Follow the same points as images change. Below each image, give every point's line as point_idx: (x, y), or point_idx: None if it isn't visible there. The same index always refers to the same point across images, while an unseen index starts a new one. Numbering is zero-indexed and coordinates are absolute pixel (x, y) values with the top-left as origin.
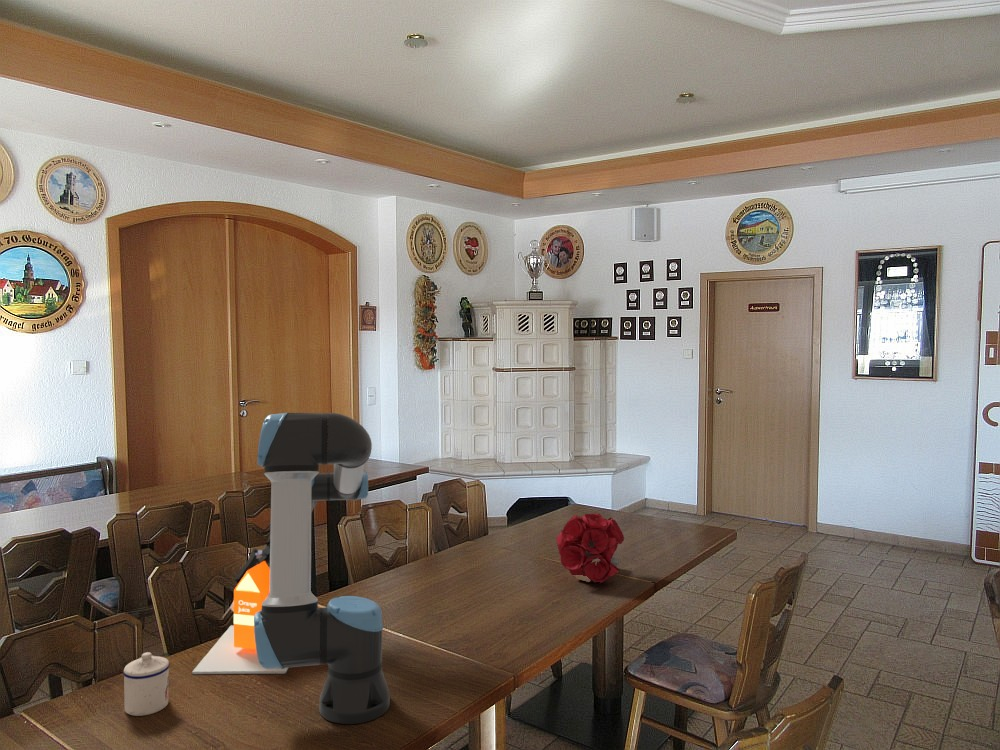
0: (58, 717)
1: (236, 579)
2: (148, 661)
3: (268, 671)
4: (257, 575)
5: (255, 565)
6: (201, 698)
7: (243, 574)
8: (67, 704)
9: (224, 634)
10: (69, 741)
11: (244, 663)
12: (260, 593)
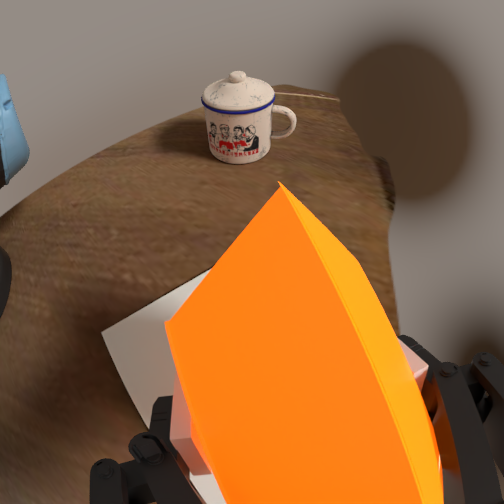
0: (305, 104)
1: (481, 357)
2: (225, 79)
3: (133, 314)
4: (263, 361)
5: (496, 481)
6: (183, 190)
7: (494, 403)
8: (331, 117)
9: None
10: None
11: None
12: (167, 322)
